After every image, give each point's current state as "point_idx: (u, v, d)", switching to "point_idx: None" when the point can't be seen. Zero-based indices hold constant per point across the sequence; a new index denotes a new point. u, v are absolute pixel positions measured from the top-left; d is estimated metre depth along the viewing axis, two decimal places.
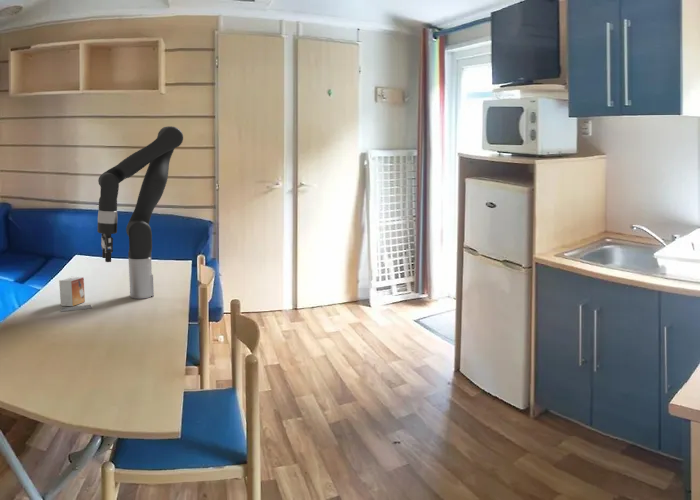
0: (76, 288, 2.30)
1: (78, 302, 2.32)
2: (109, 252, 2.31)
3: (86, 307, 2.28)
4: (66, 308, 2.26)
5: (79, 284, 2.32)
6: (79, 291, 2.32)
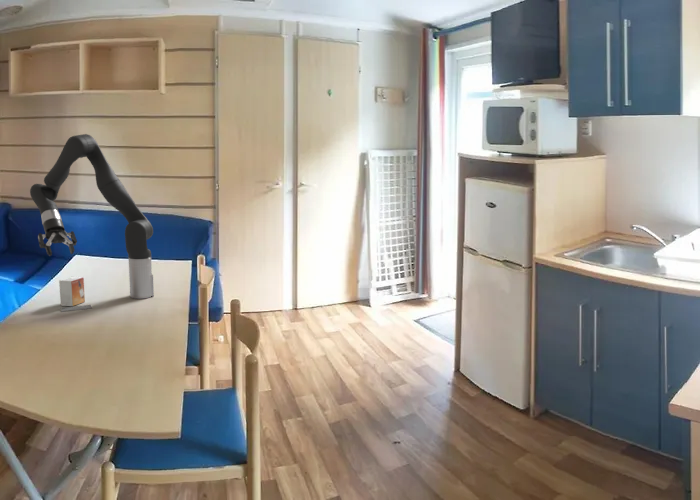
0: (76, 288, 2.30)
1: (78, 302, 2.32)
2: (43, 246, 2.35)
3: (86, 307, 2.28)
4: (66, 308, 2.26)
5: (79, 284, 2.32)
6: (79, 291, 2.32)
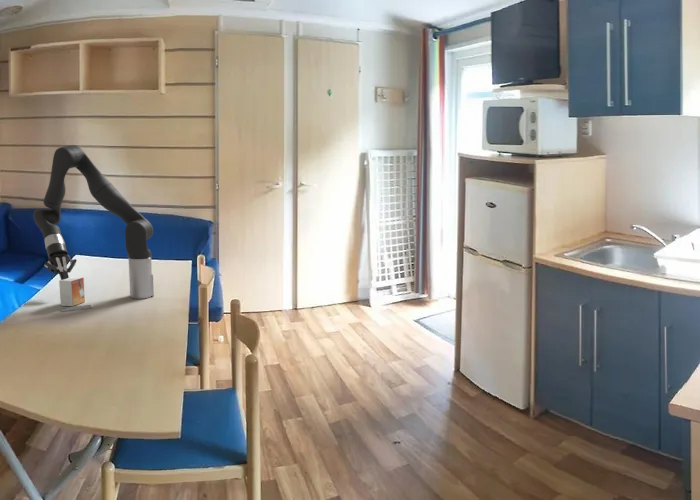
0: (76, 288, 2.30)
1: (78, 302, 2.32)
2: None
3: (86, 307, 2.28)
4: (66, 308, 2.26)
5: (79, 284, 2.32)
6: (79, 291, 2.32)
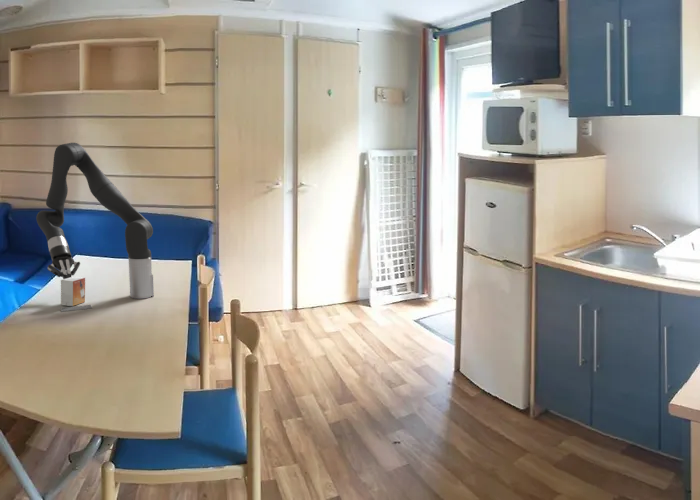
0: (77, 288, 2.30)
1: (78, 302, 2.32)
2: None
3: (86, 307, 2.28)
4: (66, 308, 2.26)
5: (80, 284, 2.32)
6: (80, 291, 2.32)
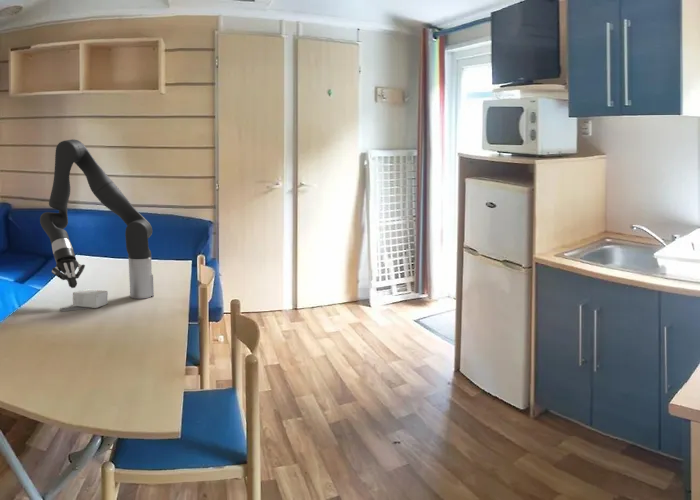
0: None
1: None
2: None
3: (86, 307, 2.28)
4: (66, 308, 2.26)
5: None
6: None
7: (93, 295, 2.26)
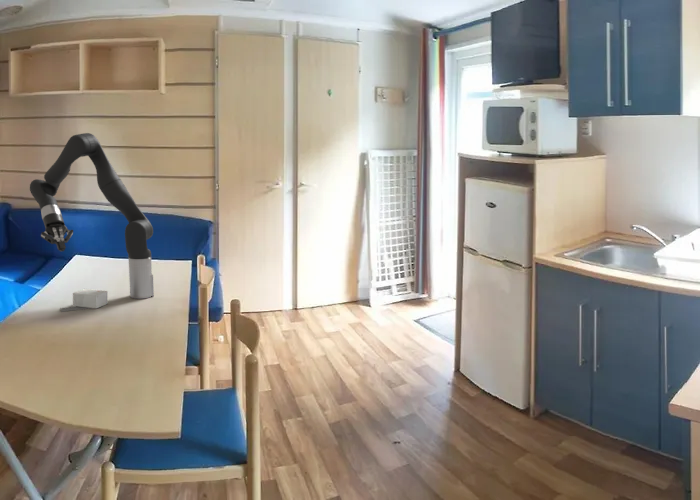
0: None
1: None
2: None
3: (86, 307, 2.28)
4: (66, 308, 2.26)
5: None
6: None
7: (93, 296, 2.26)
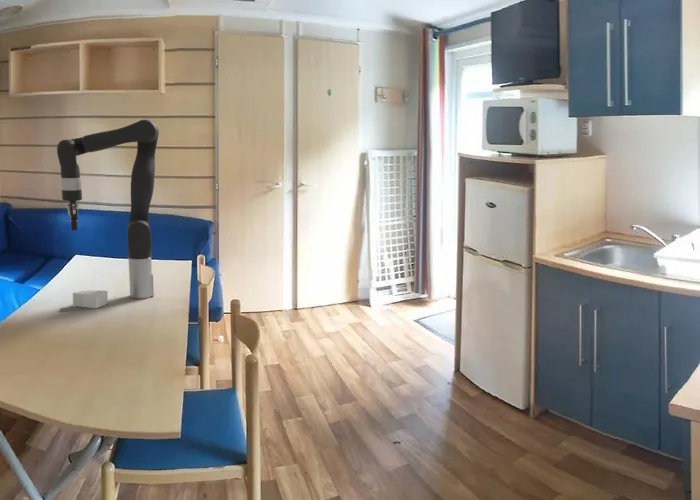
0: None
1: None
2: None
3: (86, 307, 2.28)
4: (66, 308, 2.26)
5: None
6: None
7: (93, 296, 2.26)
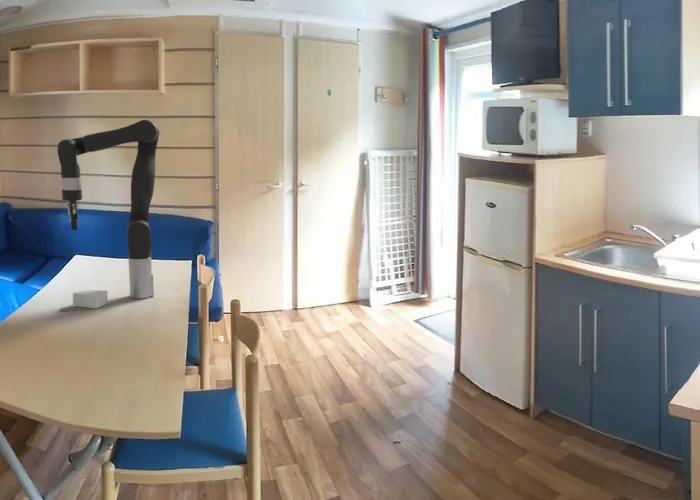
0: None
1: None
2: None
3: (86, 307, 2.28)
4: (66, 308, 2.26)
5: None
6: None
7: (93, 296, 2.26)
